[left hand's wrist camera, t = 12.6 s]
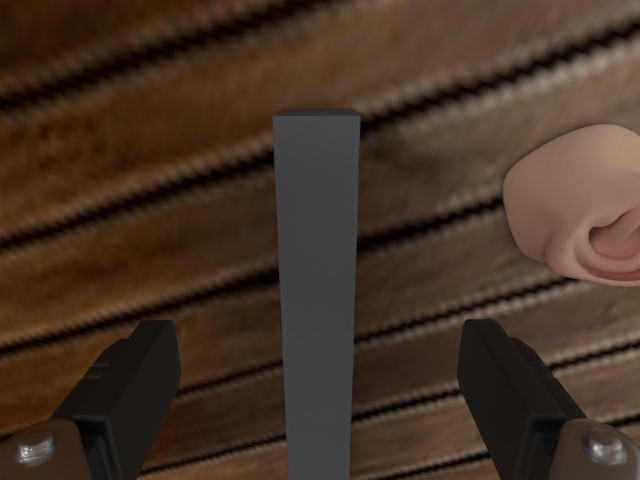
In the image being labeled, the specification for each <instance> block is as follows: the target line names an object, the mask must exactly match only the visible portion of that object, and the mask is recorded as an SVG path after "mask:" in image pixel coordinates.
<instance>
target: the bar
mask: <svg viewBox="0 0 640 480" xmlns="http://www.w3.org/2000/svg"><path fill="white" fill-rule="evenodd" d="M272 119H273V142H274V165H275V188H276V210H277V233H278V256H279V279H280V302H281V325H282V347H283V370H284V393H285V416H286V439H287V462H288V480H349V479H350V446H351V412H352V379H353V346H354V312H355V279H356V245H357V212H358V179H359V145H360V115H359V114H358V113H356V112H355V111H354V110H353V109H281V110H280V111H279V112H277V113H276V114H275V115H273V117H272Z"/></svg>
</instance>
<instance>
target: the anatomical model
mask: <svg viewBox="0 0 640 480" xmlns="http://www.w3.org/2000/svg"><path fill="white" fill-rule="evenodd" d="M503 202H504V206H505V211H506V216H507V221H508V224H509V228H510V230H511V233H512V235H513V238H514V240H515V242H516V244H517V246H518V248H519V249H520V251H521V252H522V253H523V254H524V255H526V256H527V257H529V258H531V259H534V260H537V261H540V262H543V263H546V264H547V266H548V268H549V269H550V270H551V271H552V272H554V273H555V274H558V275H560V276H564V277H569V278H574V279H580V280H584V281H588V282H593V283H597V284H603V285H609V286H619V287H630V286H640V136H639V135H637V134H635V133H634V132H632V131H630V130H628V129H626V128H623V127H620V126H617V125H612V124H598V125H591V126H587V127H583V128H580V129H577V130H574V131H571V132H569V133H567V134H564V135H562V136H560V137H558V138H556V139H554V140H552V141H550V142H548V143H546V144H544V145H543V146H541V147H539V148H538V149H536V150H534V151H533V152H531V153H530V154H528V155H527V156H525V157H524V158H522V159H521V160H520V161H519V162H517V163H516V164H515V165H514V166H513V167H512V168H511V169H510V170H509V172H508V173H507V175H506V176H505V179H504V182H503Z"/></svg>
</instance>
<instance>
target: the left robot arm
mask: <svg viewBox="0 0 640 480" xmlns="http://www.w3.org/2000/svg"><path fill="white" fill-rule="evenodd" d="M180 376H181V367H180V359H179V353H178V346H177V339H176V333H175V326H174V323H173V322H172V321H171V320H142V321H141V322H140V323H139V325H138V326H137V327H136V329H135V330H134V331H133V333H132V334H131V335H130V337H129V338H128V339H120V340H118V341H117V342H115V343H114V344H112V345H111V346H110V347H108V348H107V349H105V350H104V351H103V352H102V353H101V355H100V356H99V357H98V358H97V360H96V361H95V362H94V363H93V367H90V368H89V370H88V371H87V372H86V373H85V375H84V378H83V379H81V380H80V381H79V382H78V383H77V385H76V386H75V387H74V388H73V390H72V391H71V392H70V393H69V395H68V396H67V397H66V399H65V400H64V401H63V402H62V404H61V405H60V406H59V407H58V409H57V410H56V411H55V412H54V414H53V415H52V416H51V417H50V419H49V420H45V421H41V422H38V423H35V424H33V425H31V426H28V427H26V428H25V429H23V430H21V431H19V432H18V433H16V434H15V435H14V436H12V437H11V438H10V439H9V440H8V441H7V442H6V443H4V444H3V446H2V447H1V448H0V480H137V477H138V475H139V473H140V471H141V469H142V467H143V464H144V462H145V460H146V458H147V456H148V453H149V451H150V449H151V447H152V445H153V443H154V440H155V438H156V436H157V434H158V432H159V429H160V427H161V425H162V423H163V421H164V419H165V416H166V414H167V412H168V410H169V408H170V405H171V403H172V401H173V399H174V397H175V395H176V392H177V390H178V387H179V383H180ZM457 376H458V383H459V387H460V389H461V392H462V394H463V396H464V398H465V401H466V403H467V405H468V407H469V409H470V412H471V414H472V416H473V418H474V421H475V423H476V425H477V427H478V429H479V432H480V434H481V436H482V438H483V440H484V443H485V445H486V447H487V449H488V451H489V454H490V456H491V458H492V460H493V462H494V465H495V467H496V469H497V471H498V474H499V476H500V478H501V480H640V448H639V447H638V446H637V444H636V443H634V442H633V441H632V440H631V439H630V438H629V437H628V436H626V435H625V434H624V433H622V432H621V431H619V430H617V429H615V428H614V427H612V426H609V425H607V424H605V423H602V422H599V421H595V420H591V419H588V418H587V417H586V415H585V414H584V413H583V412H582V410H581V409H580V408H579V406H578V405H577V404H576V403H575V401H574V400H573V399H572V398H571V396H570V395H569V394H568V393H567V391H566V390H565V389H564V387H563V386H562V385H561V384H560V382H559V381H558V380H557V379H556V378H554V376H553V374H552V372H551V371H550V370H549V369H548V367H547V366H545V365H544V362H543V361H542V360H541V358H540V357H539V356H538V355H537V353H536V352H535V351H534V350H533V349H532V348H531V347H529V346H528V345H526V344H525V343H523V342H522V341H520V340H519V339H518V338H509V337H508V335H507V334H506V333H505V331H504V330H503V328H502V327H501V326H500V324H499V323H498V322H497V321H496V320H494V319H467V320H466V321H465V322H464V325H463V331H462V337H461V344H460V351H459V358H458V365H457Z"/></svg>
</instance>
